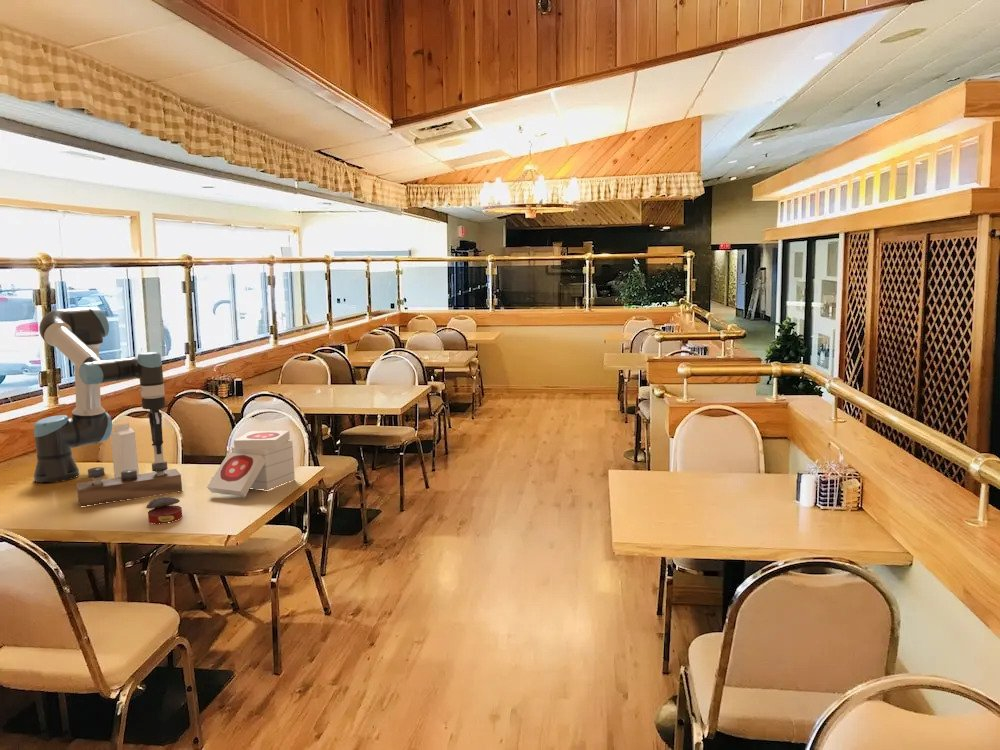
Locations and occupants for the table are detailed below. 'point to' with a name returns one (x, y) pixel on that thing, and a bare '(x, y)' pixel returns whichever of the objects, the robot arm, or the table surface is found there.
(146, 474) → the mount
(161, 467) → the knob right
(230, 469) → the pizza boxes
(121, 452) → the milk
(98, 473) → the knob left
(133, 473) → the knob middle
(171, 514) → the canned food
